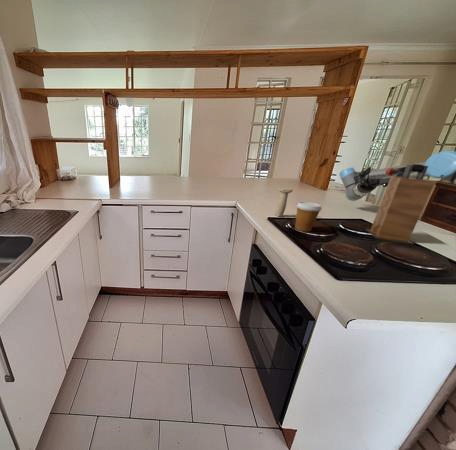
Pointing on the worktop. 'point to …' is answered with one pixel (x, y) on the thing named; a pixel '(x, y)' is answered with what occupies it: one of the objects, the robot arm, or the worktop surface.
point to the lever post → (401, 206)
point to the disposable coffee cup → (306, 215)
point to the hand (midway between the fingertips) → (387, 170)
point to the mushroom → (282, 201)
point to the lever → (403, 169)
